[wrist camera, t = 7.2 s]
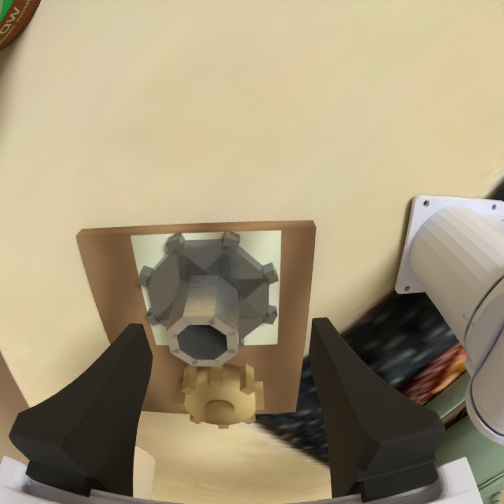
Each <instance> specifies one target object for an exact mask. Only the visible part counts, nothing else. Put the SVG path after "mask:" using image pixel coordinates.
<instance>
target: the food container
mask: <svg viewBox="0 0 504 504" xmlns="http://www.w3.org/2000/svg"><path fill="white" fill-rule="evenodd" d="M40 1H41V0H0V51H1V50H3V49H4V48H6V47H7V46H9V45H10V44H11V43H12V42H13V41H14V40H15V39H16V38H17V37H18V36H19V35H20V34H21V33H22V32H23V30H24V29H25V28H26V26H27V25H28V23H29V22H30V20H31V19H32V17H33V16H34V14H35V12H36V10H37V8H38V6H39V4H40Z"/></svg>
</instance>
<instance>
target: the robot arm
mask: <svg viewBox="0 0 504 504" xmlns="http://www.w3.org/2000/svg"><path fill="white" fill-rule="evenodd" d="M426 200H427V203H426V204H425V205H423V203H424V202H425V201H426ZM492 206H493V207H492ZM406 286H408V287H407V288H405V287H406ZM395 291H396V292H397V293H398V294H407V293H418V292H426V294H427V295H428V296H429V298H430V299H431V301H432V302H433V303H434V305H435V306H436V308H437V309H438V311H439V312H440V313H441V315H442V316H443V318H444V319H445V321H446V322H447V324H448V325H449V327H450V328H451V330H452V331H453V333H454V334H455V336H456V337H457V339H458V340H459V342H460V343H461V345H462V346H463V348H464V350H465V351H466V353H467V358H466V361H465V363H464V366H465V368H466V369H467V371H468V373H469V374H470V376H471V379H470V381H469V383H468V385H467V388H466V392H465V404H466V408H467V412H468V414H469V417H470V419H471V421H472V422H473V424H474V426H475V427H476V428H477V429H478V430H479V432H481V433H482V434H483V435H484V436H485V437H486V438H488V439H489V440H491V441H493V442H495V443H497V444H500V445H504V202H503V201H500V200H488V199H476V198H462V197H446V196H428V195H417V196H415V197H414V199H413V201H412V207H411V213H410V219H409V224H408V229H407V235H406V240H405V245H404V249H403V254H402V259H401V263H400V268H399V272H398V276H397V280H396V284H395ZM309 356H310V364H311V371H312V376H313V379H314V383H315V387H316V391H317V395H318V398H319V402H320V406H321V410H322V413H323V418H324V423H325V429H326V437H327V444H328V453H329V463H330V474H331V488H332V498H331V499H324V500H317V501H309V502H300V503H289V504H483V502H482V499H481V496H480V493H479V490H478V487H477V484H476V482H475V479H474V476H473V474H472V471H471V468H470V466H469V463H468V461H467V458H466V457H462V458H459V459H456V460H454V461H451V462H448V463H446V464H443V465H441V466H439V467H437V468H435V465H434V462H435V461H436V457H435V454H434V452H435V451H436V449H437V448H438V447H439V446H440V445H441V443H442V442H443V441H444V439H445V437H446V433H447V432H446V430H445V427H444V425H443V423H442V421H441V419H440V417H439V416H438V414H437V412H435V411H433V410H430V409H428V408H426V407H424V406H422V405H420V404H418V403H416V402H415V401H413V400H411V399H409V398H408V397H406V396H404V395H403V394H401V393H400V392H399V391H397V390H396V389H394V388H393V387H391V386H390V385H389V384H387V383H386V382H385V381H384V380H382V379H381V378H380V377H379V376H378V375H377V374H375V373H374V372H373V371H372V370H371V369H370V368H369V367H368V366H367V365H366V364H365V363H364V362H363V361H362V360H361V359H360V358H359V357H358V356H357V354H356V353H355V352H354V351H353V350H352V349H351V348H350V346H349V345H348V344H347V343H346V342H345V340H344V339H343V338H342V337H341V335H340V334H339V333H338V331H337V330H336V329H335V327H334V326H333V324H332V323H331V322H330V320H329V319H328V318H327V317H325V318H313V319H312V329H311V339H310V348H309ZM152 362H153V354H152V351H151V348H150V345H149V342H148V339H147V336H146V333H145V330H144V326H143V324H139V323H130V324H129V325H128V326H127V327H126V328H125V329H124V330H123V331H122V333H121V334H120V335H119V336H118V337H117V338H116V339H115V341H114V342H113V343H112V344H111V345H110V346H109V347H108V348H107V349H106V351H105V352H104V353H103V354H102V355H101V356H100V357H99V358H98V359H97V360H96V361H95V362H94V363H93V364H92V365H91V366H90V367H89V368H88V369H87V370H86V371H85V372H84V373H82V374H81V375H80V376H79V377H78V378H77V379H75V380H74V381H73V382H72V383H70V384H69V385H68V386H66V387H65V388H63V389H62V390H61V391H59V392H58V393H56V394H55V395H53V396H52V397H50V398H48V399H47V400H45V401H43V402H41V403H39V404H38V405H36V406H34V407H31V408H29V409H27V410H25V411H23V412H20V413H19V414H18V416H17V418H16V420H15V422H14V424H13V427H12V429H11V431H10V434H9V438H10V440H11V442H12V443H13V444H14V446H15V447H16V448H17V449H18V450H19V451H20V452H22V453H23V454H24V455H25V456H26V457H27V458H28V459H29V460H30V461H29V464H28V465H26V464H25V463H23V462H21V461H18V460H16V459H13V458H11V457H8V456H4V457H3V460H2V462H1V465H0V504H182V503H172V502H163V501H155V500H147V499H141V498H134V497H133V470H134V453H135V442H136V434H137V427H138V422H139V417H140V413H141V409H142V406H143V402H144V398H145V395H146V391H147V387H148V384H149V380H150V376H151V370H152Z"/></svg>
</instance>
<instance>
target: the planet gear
mask: <svg viewBox="0 0 504 504" xmlns="http://www.w3.org/2000/svg"><path fill="white" fill-rule="evenodd" d="M239 243H240V234H237V233H234V232H231V231H228V230H226V232H225V234H224V237H223V239H205V240H185V238H184V237H183V235H182V233H181V232H178V233H176V234H174V235H172V236H169V237H168V239H167V241H166V243H165V245H166V247H167V248H168V250H169V251H168V252H167V253H166V254H165V255H164V256H163V258H162V259H161V260H160V261H159V262H158V263H157V264H156V265H155V266H154V268H151V267H148V266H145V265H144V266H143V268H142V270H141V272H140V275H139V280H138V284H139V285H142V286H145V287H147V290H148V294H149V299H150V303H151V307H152V308H149V310H148V313H147V316H146V318H147V319H148V321H149V322H150V323H151V324H152V326H155V325H158V324H161V325H163V326H164V327H166V337H167V341H168V345H169V348H170V352H171V353H172V354H173V355H175V356H177V357H178V358H180V359H182V360H183V361H185V362H186V363H188V364H190V365H192V366H221V365H223V364H224V363H225V362H227V361H228V360H230V359H231V358H232V357H234V356H235V355H236V354H238V353H239V348H240V347H243V346H244V337H246V336H247V335H248V334H249V333H251V332H252V331H253V330H255V329H256V328H257V327H259V326H260V325H261V324H262V323H267V324H271V325H273V323H274V321H275V319H276V318H277V316H278V315H277V308H276V306H272V305H269V285H270V284H272V283H275V282H278V281H279V280H278V274H277V271H276V269H275V267H274V265H273V262H271V263H268V264H266V265H262V264H260V263H259V262H258V261H257V260H256V259H254V258H253V257H252V256H251V255H249V254H248V253H247V252H246V251H245V250H243V249H242V248H241V247H240V246H239Z"/></svg>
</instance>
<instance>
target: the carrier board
mask: <svg viewBox="0 0 504 504" xmlns="http://www.w3.org/2000/svg"><path fill="white" fill-rule="evenodd" d="M226 230H228V231H231V232H234V233H237V234H240V243H239V246H240V247H241V248H242V249H243V250H245V251H246V252H247V253H248V254H249V255H251V256H252V257H253V258H254V259H256V260H257V261H258V262H259V263H260V264H262V265H266V264H268V263H271V262H273V265H274V267H275V269H276V271H277V274H278V280H279V281H278V282H275V283H272V284H270V285H269V305H272V306H276V308H277V315H278V316H277V318H276V319H275V321H274V323H273V325H271V324H267V323H262V324H261V325H260V326H259V327H257V328H256V329H255V330H253V331H252V332H251V333H249V334H248V335H247V336H246V337H244V346H243V347H240V348H239V353H238V354H236V355H235V356H234V357H232V358H231V359H230V360H228V361H227V362H225V363H224V364H223V365H221V366H192V365H190V364H188V363H186V362H185V361H183V360H182V359H180V358H178V357H177V356H175V355H173V354H172V353H171V352H170V348H169V345H168V341H167V337H166V327H164V326H163V325H161V324H158V325H155V326H152V324H151V323H150V322H149V321H148V319H147V318H146V316H147V313H148V310H149V308H152V307H151V303H150V299H149V294H148V290H147V287H145V286H142V285H139V284H138V280H139V275H140V272H141V270H142V268H143V266H144V265H145V266H148V267H151V268H154V266H155V265H156V264H157V263H158V262H159V261H160V260H161V259H162V258H163V256H164V255H165V254H166V253H167V252H168V251H169V250H168V248H167V247H166V245H165V243H166V241H167V239H168V237H169V236H172V235H174V234H176V233H178V232H181V233H182V235H183V237H184V238H185V240H205V239H223V237H224V234H225V232H226ZM315 235H316V226H315V224H314V222H313V221H263V222H227V223H198V224H174V225H152V226H132V227H113V228H96V229H82V230H81V231H80V232H79V233H78V234H77V235H76V238H77V242H78V245H79V249H80V253H81V257H82V260H83V264H84V267H85V271H86V274H87V277H88V280H89V284H90V287H91V290H92V293H93V296H94V299H95V302H96V305H97V308H98V311H99V314H100V317H101V320H102V322H103V325H104V328H105V331H106V333H107V336H108V339H109V341H110V344H112V343H113V342H114V341H115V339H116V338H117V337H118V336H119V335H120V334H121V333H122V331H123V330H124V329H125V328H126V327H127V326H128V325H129V324H130V323H139V324H143V326H144V330H145V333H146V336H147V339H148V342H149V345H150V348H151V351H152V354H153V362H152V370H151V376H150V380H149V384H148V387H147V391H146V395H145V398H144V402H143V406H142V409H141V411H151V412H164V413H182V414H190V421H192V422H194V423H196V424H199V423H201V422H206V423H210V424H216V425H218V427H219V429H228V427H229V425H231V424H236V423H240V422H244V423H246V424H250V423H252V422H254V421H255V414H268V413H286V412H295V411H296V405H297V398H298V391H299V384H300V377H301V370H302V362H303V354H304V346H305V338H306V330H307V321H308V312H309V302H310V292H311V282H312V271H313V260H314V248H315Z"/></svg>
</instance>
